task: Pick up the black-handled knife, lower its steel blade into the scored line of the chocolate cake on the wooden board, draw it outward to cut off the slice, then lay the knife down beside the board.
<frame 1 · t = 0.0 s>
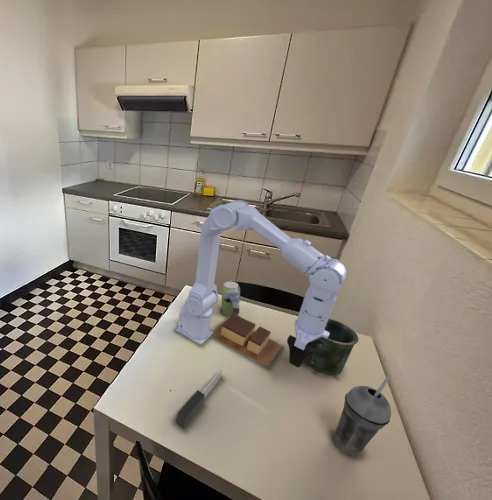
hand: (298, 356, 69), 10 cm above the table, tool pointing down, fingers open, 7 cm apart
cake slice: (257, 345, 85), point 1 cm above the table, touching cake board
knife: (190, 413, 64), on the table
beverage cup: (346, 444, 60), on the table
mug: (317, 365, 80), on the table
cake board: (245, 341, 87), on the table
beverage can: (227, 313, 101), on the table
cake: (236, 334, 89), point 1 cm above the table, touching cake board
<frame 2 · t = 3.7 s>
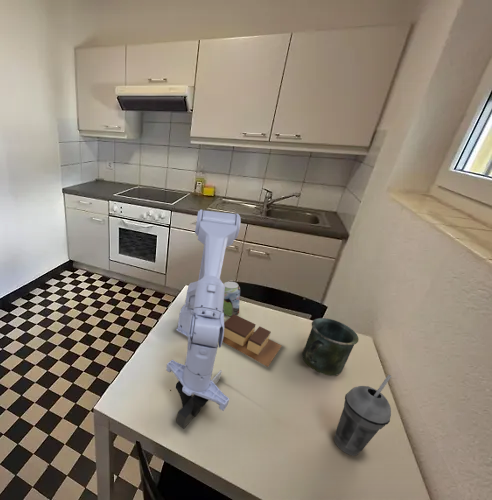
hand: (190, 409, 63), 1 cm above the table, tool pointing down, fingers closed on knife, 2 cm apart
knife: (190, 413, 64), on the table, touching gripper
everything else where it was.
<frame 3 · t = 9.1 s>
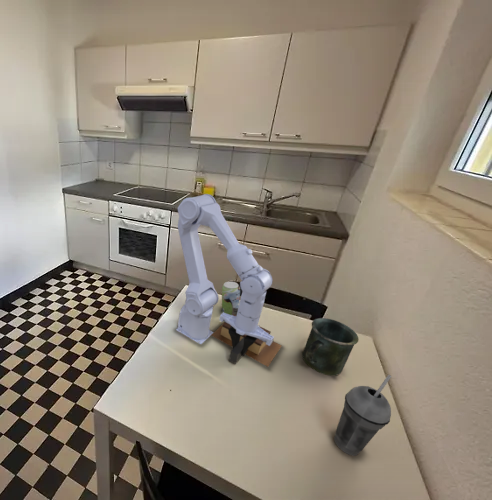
hand: (239, 351, 80), 3 cm above the table, tool pointing down, fingers closed on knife, 2 cm apart
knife: (238, 355, 80), point 1 cm above the table, touching gripper
everything else where it was.
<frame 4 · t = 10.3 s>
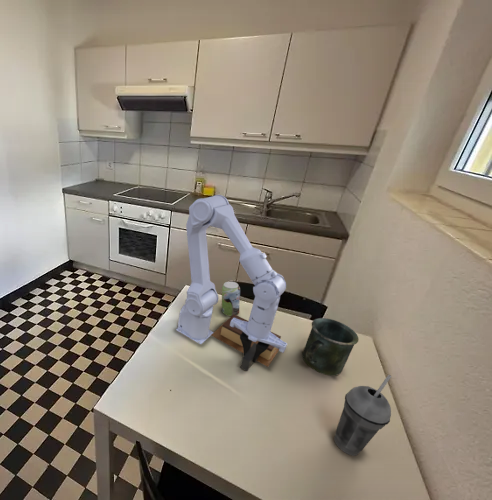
hand: (250, 357, 78), 3 cm above the table, tool pointing down, fingers closed on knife, 2 cm apart
cake slice: (267, 350, 84), point 1 cm above the table, touching cake board, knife
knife: (249, 361, 78), point 1 cm above the table, touching cake slice, gripper
everything else where it was.
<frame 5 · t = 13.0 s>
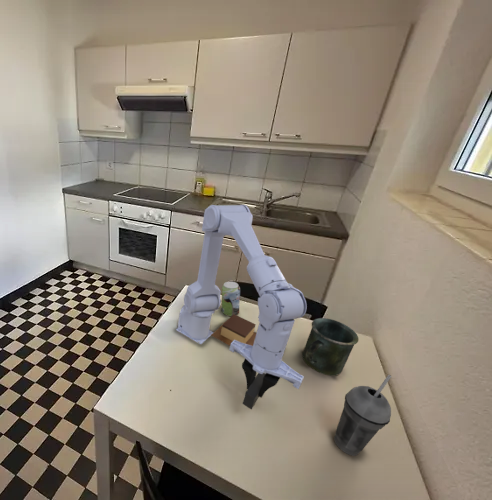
hand: (255, 390, 62), 8 cm above the table, tool pointing down, fingers closed on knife
cake slice: (267, 350, 84), point 1 cm above the table, touching cake board
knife: (254, 394, 62), point 6 cm above the table, touching gripper
everything else where it was.
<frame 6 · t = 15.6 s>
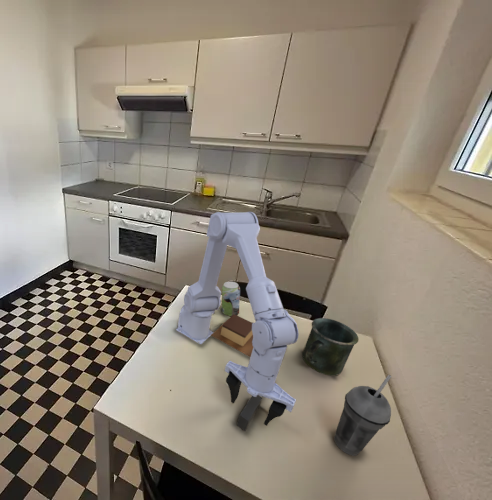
hand: (249, 410, 63), 2 cm above the table, tool pointing down, fingers open, 7 cm apart
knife: (248, 416, 64), on the table
everything else where it was.
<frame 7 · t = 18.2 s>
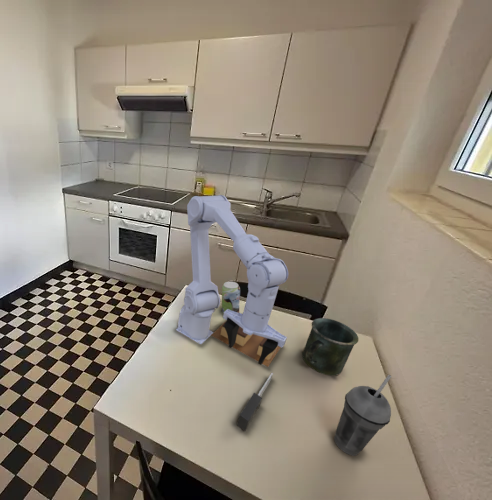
hand: (245, 353, 70), 9 cm above the table, tool pointing down, fingers open, 7 cm apart
nothing on the table moved.
at the end: cake slice moved 3.1 cm from its start; cake moved 0.0 cm from its start; the gripper is holding nothing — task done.
